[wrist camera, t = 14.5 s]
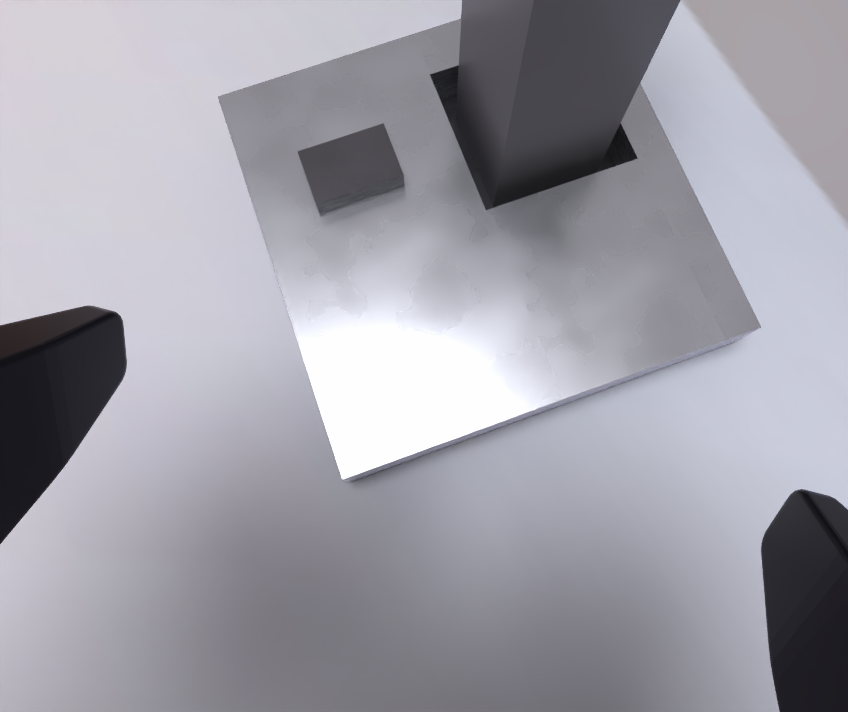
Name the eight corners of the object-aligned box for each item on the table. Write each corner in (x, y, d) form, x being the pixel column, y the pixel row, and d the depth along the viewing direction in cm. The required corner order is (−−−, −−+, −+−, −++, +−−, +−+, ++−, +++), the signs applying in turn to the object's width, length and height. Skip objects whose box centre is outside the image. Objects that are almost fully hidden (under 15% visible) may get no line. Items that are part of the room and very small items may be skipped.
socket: (350, 481, 22) (338, 478, 19) (234, 128, 25) (210, 82, 22) (732, 342, 23) (773, 320, 20) (576, 18, 26) (593, -40, 23)
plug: (491, 210, 24) (570, -195, 10) (452, 112, 25) (476, -382, 11) (599, 175, 24) (820, -268, 10) (557, 79, 25) (708, -444, 11)
